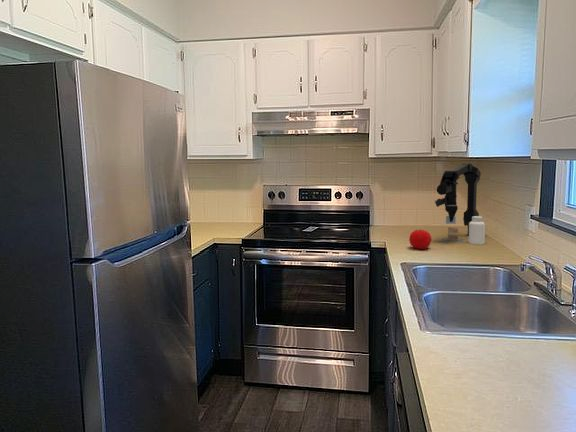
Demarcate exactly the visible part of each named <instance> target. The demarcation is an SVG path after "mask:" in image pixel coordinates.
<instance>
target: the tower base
mask: <svg viewBox="0 0 576 432" xmlns="http://www.w3.org/2000/svg"><path fill="white" fill-rule="evenodd" d="M458 236H459V234H458V235H448V234H447V239H448V241H458V239H459V237H458Z"/></svg>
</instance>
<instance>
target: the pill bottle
mask: <svg viewBox="0 0 576 432" xmlns="http://www.w3.org/2000/svg"><path fill="white" fill-rule="evenodd" d="M485 229H486V224H485V221H483V216H480V215H479V216H472V221H471V222H470V223H469V236H468V243H469V244H471V245H484V244H485V243H486V242H485V239H486V238H485V234H486V231H485Z"/></svg>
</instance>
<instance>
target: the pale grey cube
mask: <svg viewBox="0 0 576 432" xmlns="http://www.w3.org/2000/svg"><path fill="white" fill-rule="evenodd" d="M456 218H457V216H456V215H455V216H454V218H453V221H452V222H450V219H449V215H445V224H447V225H448V224H449V225H451V224H456V222H457V221H456Z"/></svg>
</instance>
